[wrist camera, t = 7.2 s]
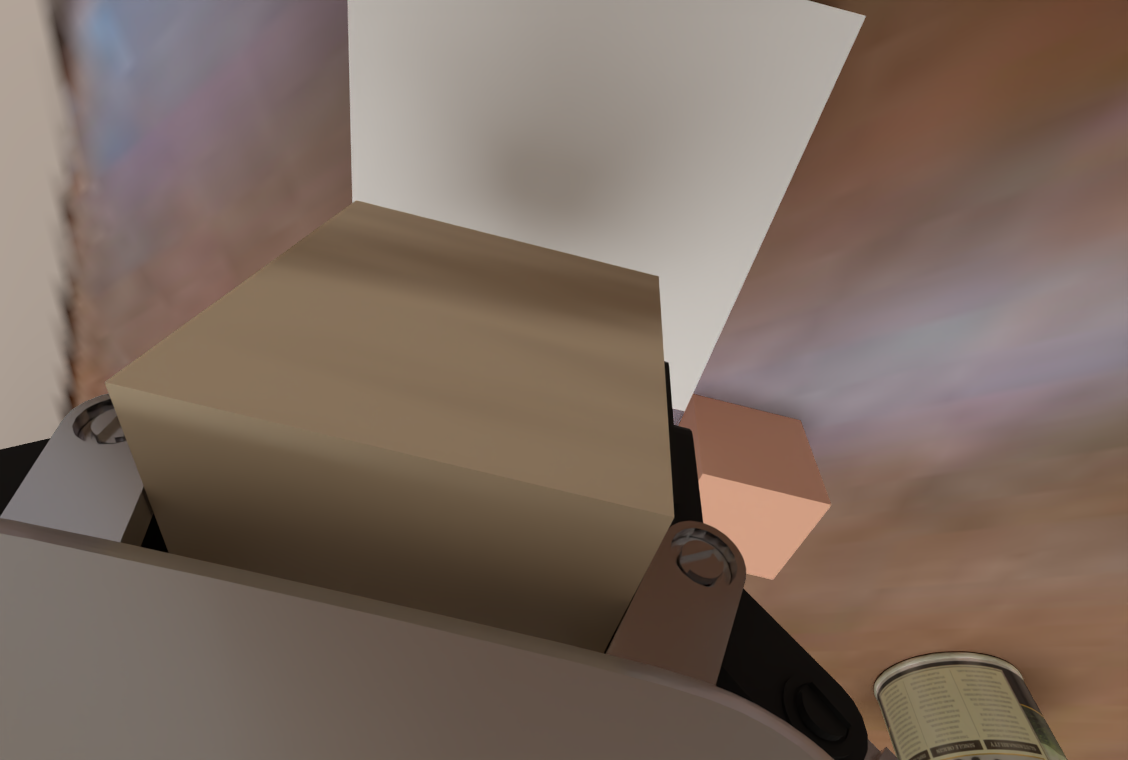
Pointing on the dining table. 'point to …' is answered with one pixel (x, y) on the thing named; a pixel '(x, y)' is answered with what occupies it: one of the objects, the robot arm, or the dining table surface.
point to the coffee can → (962, 710)
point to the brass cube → (418, 425)
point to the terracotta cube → (755, 480)
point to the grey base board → (599, 131)
